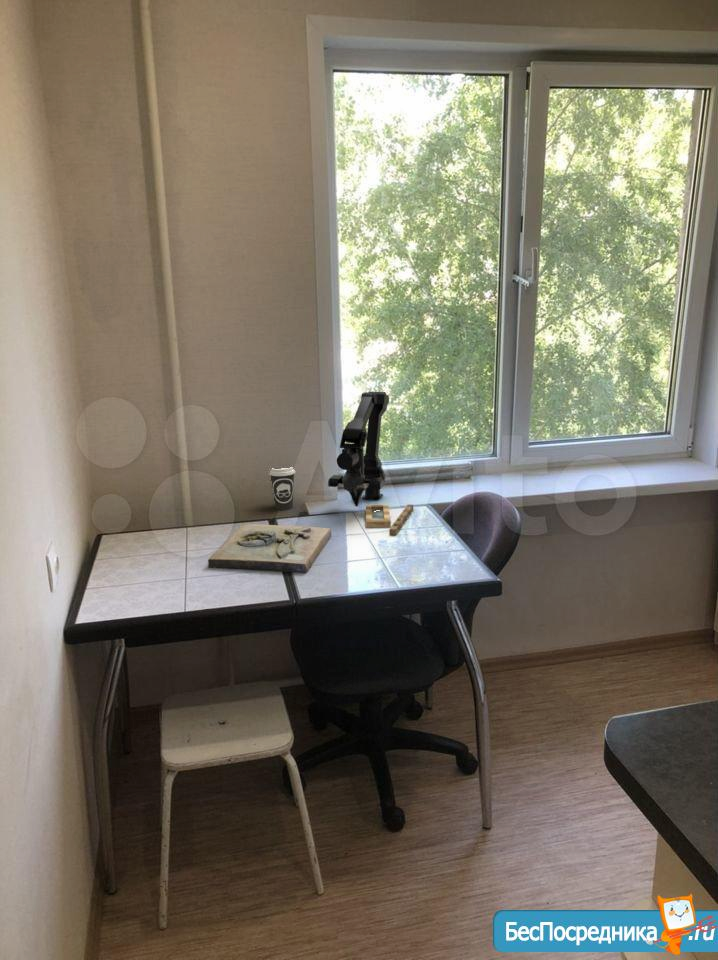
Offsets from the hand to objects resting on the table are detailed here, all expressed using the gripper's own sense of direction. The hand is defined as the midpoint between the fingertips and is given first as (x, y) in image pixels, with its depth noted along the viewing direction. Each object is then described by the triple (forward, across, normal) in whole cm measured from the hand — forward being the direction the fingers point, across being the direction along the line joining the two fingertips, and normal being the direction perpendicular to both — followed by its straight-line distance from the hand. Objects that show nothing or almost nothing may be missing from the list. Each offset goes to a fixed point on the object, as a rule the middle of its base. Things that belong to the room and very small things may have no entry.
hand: (356, 505), depth 255 cm
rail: (+2, +18, -8) cm, 20 cm away
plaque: (+3, -14, -42) cm, 44 cm away
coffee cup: (+2, -27, -1) cm, 27 cm away
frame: (+2, +9, -6) cm, 11 cm away
